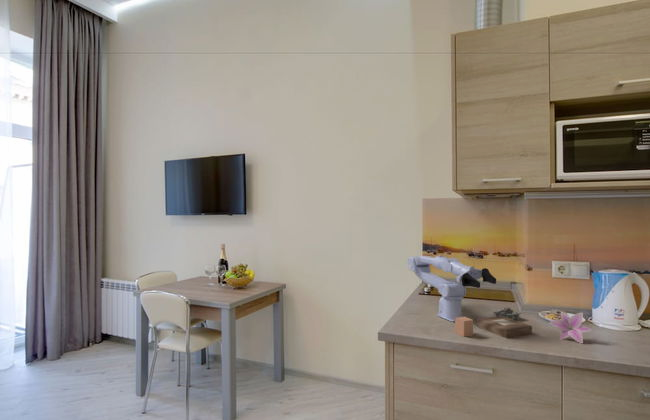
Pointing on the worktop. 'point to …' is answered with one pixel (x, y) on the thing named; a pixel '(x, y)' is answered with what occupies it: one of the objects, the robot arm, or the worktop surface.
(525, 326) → the walnut base
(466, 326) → the terracotta block
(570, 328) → the lily
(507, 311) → the egg carton
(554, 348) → the worktop surface
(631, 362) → the worktop surface
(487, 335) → the worktop surface
